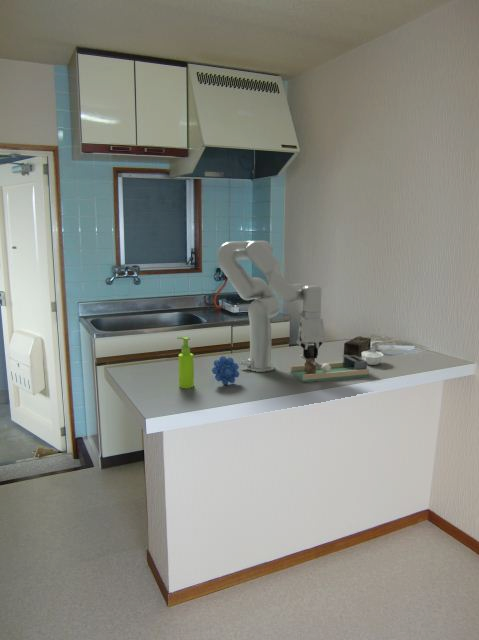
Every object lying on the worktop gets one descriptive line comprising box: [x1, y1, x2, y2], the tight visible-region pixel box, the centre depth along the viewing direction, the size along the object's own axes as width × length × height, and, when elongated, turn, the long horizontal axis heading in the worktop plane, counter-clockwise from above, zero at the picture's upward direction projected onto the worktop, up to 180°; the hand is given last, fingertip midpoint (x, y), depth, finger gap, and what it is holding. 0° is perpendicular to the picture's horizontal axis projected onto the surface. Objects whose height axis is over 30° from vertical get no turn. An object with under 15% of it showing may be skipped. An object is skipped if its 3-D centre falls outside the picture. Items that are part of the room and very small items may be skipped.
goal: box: [342, 353, 368, 370], centre depth 222 cm, size 6×11×6 cm, turn 17°
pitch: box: [289, 361, 369, 384], centre depth 219 cm, size 30×14×3 cm, turn 107°
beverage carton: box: [343, 336, 372, 357], centre depth 258 cm, size 8×19×7 cm, turn 147°
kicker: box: [300, 344, 321, 374], centre depth 215 cm, size 3×19×12 cm, turn 17°
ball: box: [321, 362, 331, 373], centre depth 218 cm, size 4×4×4 cm
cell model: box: [361, 348, 384, 366], centre depth 236 cm, size 10×12×7 cm
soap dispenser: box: [176, 336, 195, 389], centre depth 203 cm, size 6×7×20 cm
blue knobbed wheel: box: [211, 355, 240, 386], centre depth 204 cm, size 12×7×12 cm, turn 112°
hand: (310, 357), depth 215 cm, fingers closed on kicker, 3 cm apart
